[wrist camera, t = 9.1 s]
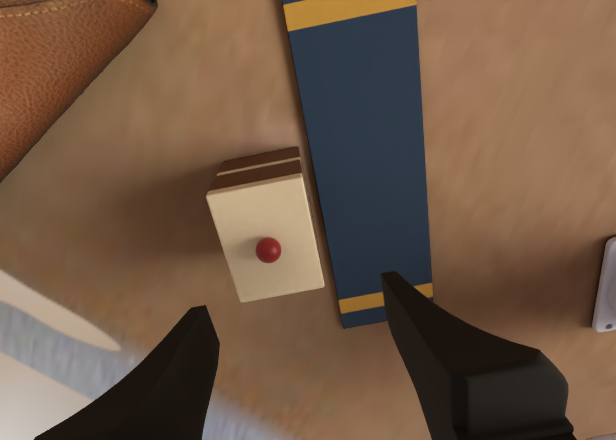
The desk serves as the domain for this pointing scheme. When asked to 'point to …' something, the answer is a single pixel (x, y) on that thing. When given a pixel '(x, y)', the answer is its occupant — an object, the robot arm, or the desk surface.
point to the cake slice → (266, 225)
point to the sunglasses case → (55, 61)
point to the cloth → (365, 143)
